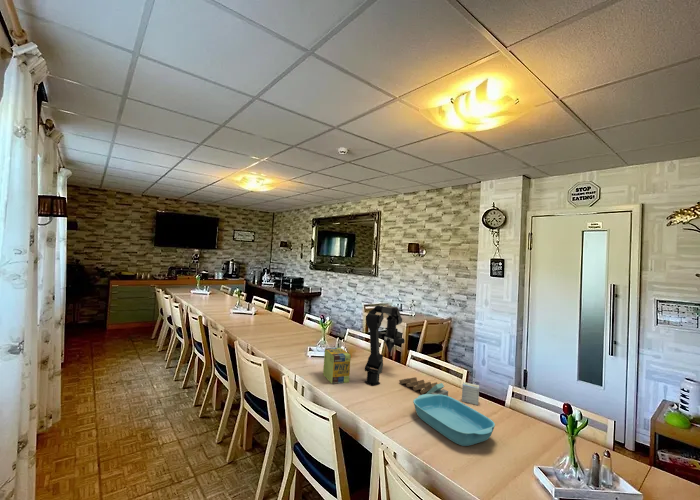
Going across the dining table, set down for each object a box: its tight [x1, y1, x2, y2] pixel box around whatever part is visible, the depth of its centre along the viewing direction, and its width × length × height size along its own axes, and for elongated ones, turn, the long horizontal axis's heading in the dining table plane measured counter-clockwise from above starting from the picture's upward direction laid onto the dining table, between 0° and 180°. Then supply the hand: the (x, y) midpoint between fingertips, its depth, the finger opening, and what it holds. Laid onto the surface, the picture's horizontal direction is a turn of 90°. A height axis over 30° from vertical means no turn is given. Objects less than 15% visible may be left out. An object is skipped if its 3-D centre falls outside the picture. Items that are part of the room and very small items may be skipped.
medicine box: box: [461, 381, 480, 406], centre depth 162 cm, size 8×4×9 cm, turn 65°
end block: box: [431, 388, 449, 396], centre depth 161 cm, size 10×3×4 cm, turn 126°
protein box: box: [322, 347, 352, 385], centre depth 182 cm, size 10×15×16 cm
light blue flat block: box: [426, 382, 445, 394], centre depth 163 cm, size 2×5×9 cm
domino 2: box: [405, 379, 425, 388], centre depth 174 cm, size 2×5×9 cm
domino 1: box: [398, 376, 418, 385], centre depth 178 cm, size 2×5×9 cm
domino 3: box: [412, 381, 432, 391], centre depth 170 cm, size 2×5×9 cm
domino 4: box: [419, 381, 438, 395], centre depth 166 cm, size 2×5×9 cm
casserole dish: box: [412, 394, 496, 447], centre depth 136 cm, size 37×22×7 cm, turn 28°
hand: (389, 351), depth 197 cm, fingers closed
